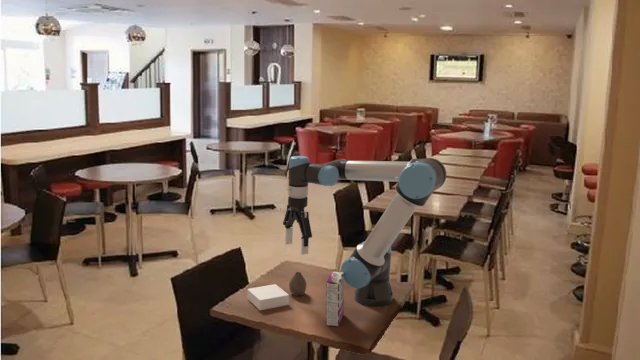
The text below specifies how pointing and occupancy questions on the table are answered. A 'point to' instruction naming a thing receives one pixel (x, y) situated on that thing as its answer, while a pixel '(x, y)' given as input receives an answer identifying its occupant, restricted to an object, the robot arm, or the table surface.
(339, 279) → the candy bar box
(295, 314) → the table surface
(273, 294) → the plinth
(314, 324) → the table surface
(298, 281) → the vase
